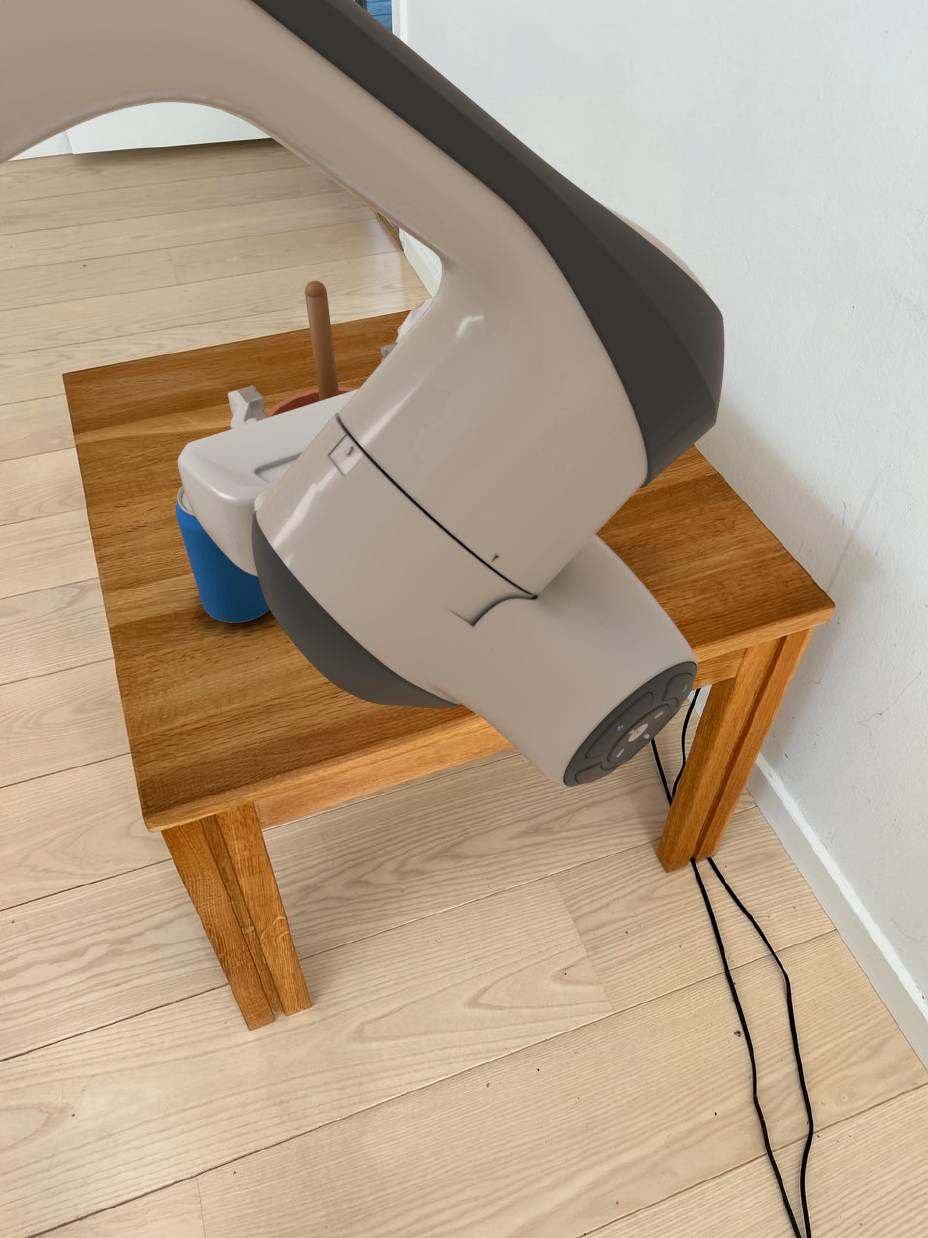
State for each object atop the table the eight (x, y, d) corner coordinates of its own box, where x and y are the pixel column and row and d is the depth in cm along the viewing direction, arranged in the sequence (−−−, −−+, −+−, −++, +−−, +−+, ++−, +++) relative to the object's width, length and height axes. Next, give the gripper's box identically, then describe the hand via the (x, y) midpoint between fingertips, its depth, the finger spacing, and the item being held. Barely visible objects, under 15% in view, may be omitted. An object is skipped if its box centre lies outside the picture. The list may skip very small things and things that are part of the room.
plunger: (338, 503, 88) (312, 305, 74) (299, 479, 91) (266, 283, 76) (380, 475, 91) (362, 280, 76) (340, 453, 94) (316, 259, 79)
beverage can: (287, 578, 82) (265, 468, 73) (269, 631, 78) (244, 521, 69) (216, 573, 82) (186, 464, 74) (194, 626, 78) (159, 516, 69)
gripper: (614, 391, 47) (473, 279, 55) (229, 528, 39) (133, 377, 48) (601, 490, 51) (472, 373, 59) (254, 629, 44) (162, 475, 52)
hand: (318, 375), depth 53 cm, fingers open, 8 cm apart
